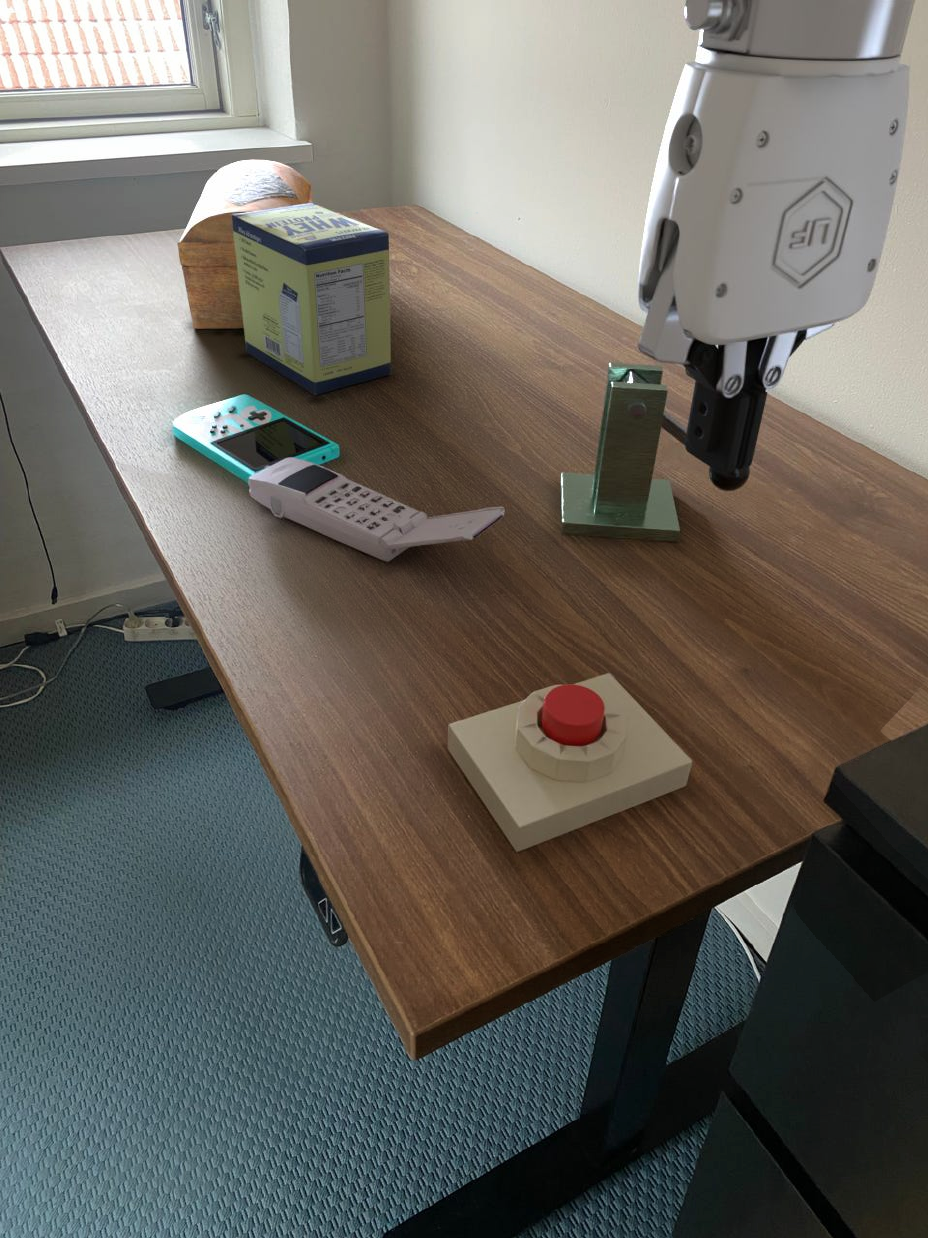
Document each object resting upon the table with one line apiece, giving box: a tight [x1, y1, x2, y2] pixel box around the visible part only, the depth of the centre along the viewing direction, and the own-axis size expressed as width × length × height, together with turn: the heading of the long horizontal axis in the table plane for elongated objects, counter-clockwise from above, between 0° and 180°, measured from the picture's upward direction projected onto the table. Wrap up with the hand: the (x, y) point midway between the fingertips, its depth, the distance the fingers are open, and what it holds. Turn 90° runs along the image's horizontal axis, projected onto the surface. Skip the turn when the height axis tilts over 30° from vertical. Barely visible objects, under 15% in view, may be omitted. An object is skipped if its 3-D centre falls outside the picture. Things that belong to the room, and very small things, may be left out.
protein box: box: [231, 202, 392, 396], centre depth 103 cm, size 10×16×16 cm
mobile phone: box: [247, 457, 505, 563], centre depth 77 cm, size 6×6×25 cm
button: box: [541, 684, 605, 746], centre depth 55 cm, size 4×4×2 cm
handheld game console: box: [172, 393, 341, 484], centre depth 91 cm, size 10×16×1 cm, turn 45°
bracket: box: [559, 362, 681, 543], centre depth 79 cm, size 10×9×13 cm
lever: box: [621, 371, 751, 492], centre depth 78 cm, size 14×3×3 cm
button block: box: [447, 672, 693, 853], centre depth 57 cm, size 12×9×4 cm
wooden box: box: [177, 159, 314, 330], centre depth 123 cm, size 30×16×14 cm, turn 6°
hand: (716, 458), depth 46 cm, fingers closed
